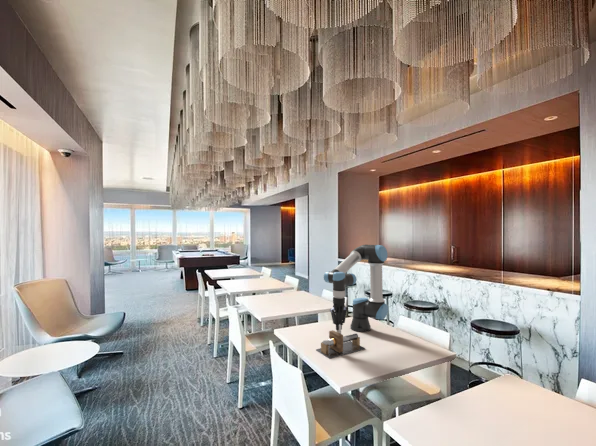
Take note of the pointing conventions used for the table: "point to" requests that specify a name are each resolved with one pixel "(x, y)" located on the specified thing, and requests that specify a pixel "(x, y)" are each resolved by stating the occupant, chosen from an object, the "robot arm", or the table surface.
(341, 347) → the collar
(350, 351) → the pipe rig
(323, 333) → the table surface
